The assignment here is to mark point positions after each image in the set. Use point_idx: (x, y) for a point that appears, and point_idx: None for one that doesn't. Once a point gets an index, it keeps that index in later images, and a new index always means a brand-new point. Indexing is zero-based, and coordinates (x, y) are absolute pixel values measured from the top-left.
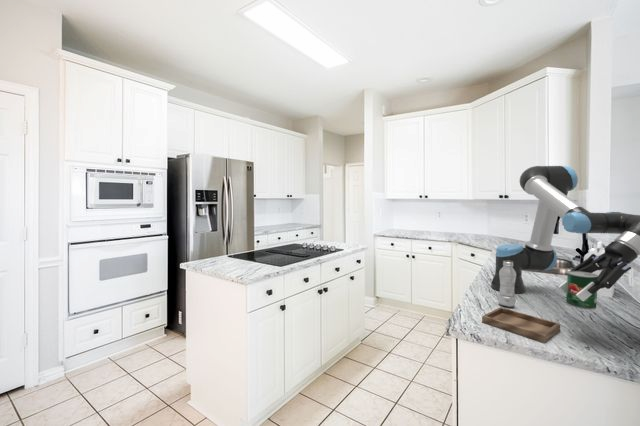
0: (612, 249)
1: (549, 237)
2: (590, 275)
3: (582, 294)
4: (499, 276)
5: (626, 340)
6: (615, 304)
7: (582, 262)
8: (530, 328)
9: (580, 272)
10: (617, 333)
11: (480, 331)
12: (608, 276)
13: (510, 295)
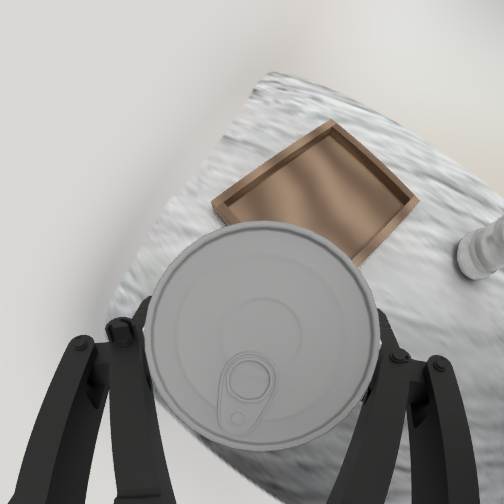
0: None
1: None
2: (221, 383)
3: None
4: None
5: (250, 464)
6: None
7: (471, 465)
8: (298, 220)
9: (344, 376)
10: (298, 475)
11: (271, 108)
12: (59, 392)
13: (478, 246)
